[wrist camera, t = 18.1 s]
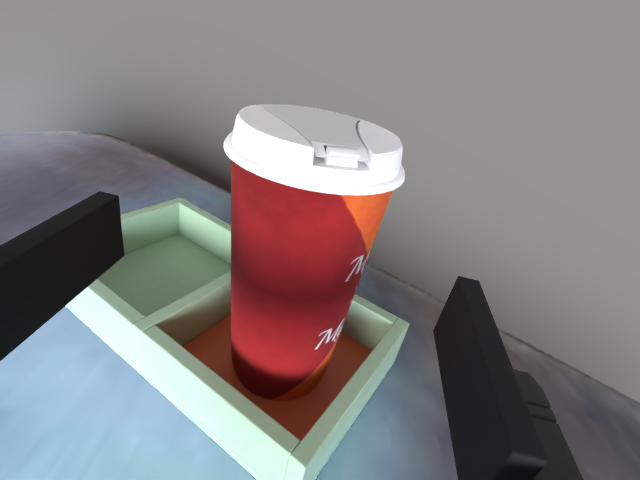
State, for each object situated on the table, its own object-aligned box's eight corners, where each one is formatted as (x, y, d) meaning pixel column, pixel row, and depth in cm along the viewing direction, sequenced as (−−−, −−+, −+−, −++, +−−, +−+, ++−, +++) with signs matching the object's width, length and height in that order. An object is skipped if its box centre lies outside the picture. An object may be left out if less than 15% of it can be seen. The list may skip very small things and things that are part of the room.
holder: (42, 285, 25) (30, 240, 23) (180, 233, 33) (180, 196, 32) (292, 512, 16) (305, 468, 14) (393, 363, 25) (410, 323, 23)
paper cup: (359, 411, 20) (451, 167, 13) (212, 429, 18) (229, 145, 11) (323, 312, 26) (372, 112, 20) (212, 315, 24) (222, 91, 17)
